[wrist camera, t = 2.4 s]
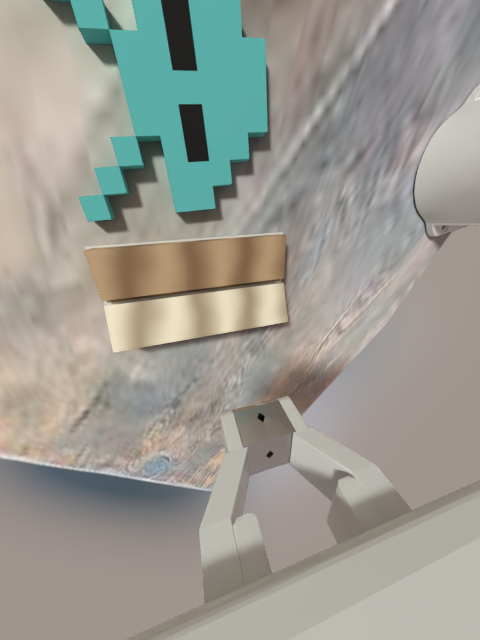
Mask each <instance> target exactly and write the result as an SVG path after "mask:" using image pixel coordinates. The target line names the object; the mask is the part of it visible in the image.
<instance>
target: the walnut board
mask: <svg viewBox="0 0 480 640" xmlns="http://www.w3.org/2000/svg"><path fill="white" fill-rule="evenodd" d="M84 253H85V256H86V259H87V262H88V264H89V267H90V270H91V273H92V275H93V278H94V281H95V284H96V286H97V289H98V292H99V295H100V298H101V300H102V301H106V302H107V303H110V302H118V301H126V300H133V299H141V298H149V297H157V296H165V295H173V294H180V293H188V292H196V291H204V290H212V289H220V288H227V287H235V286H243V285H251V284H259V283H267V282H274V281H280V279H283V278H284V272H285V253H286V235H281V234H275V235H262V236H249V237H236V238H222V239H209V240H196V241H182V242H169V243H156V244H143V245H129V246H116V247H103V248H90V249H88V250H85V251H84Z"/></svg>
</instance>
